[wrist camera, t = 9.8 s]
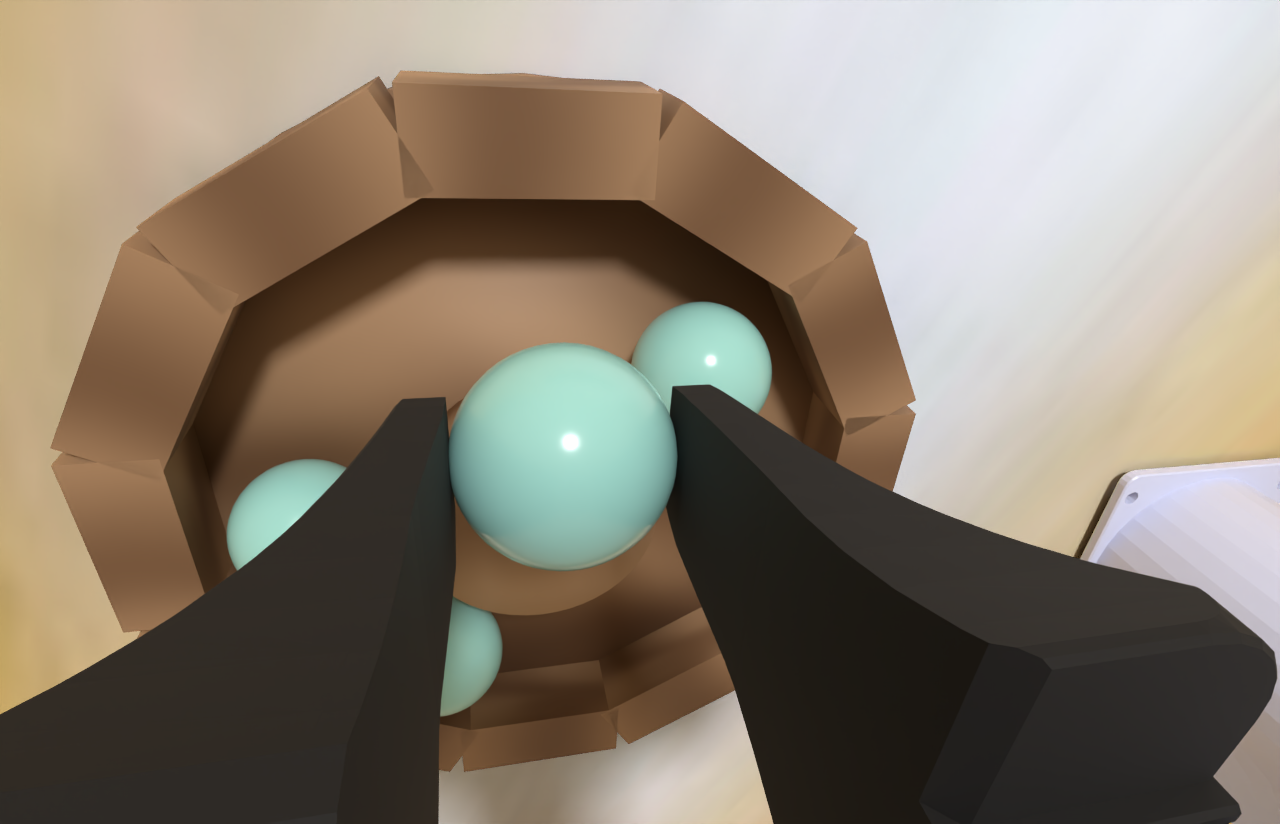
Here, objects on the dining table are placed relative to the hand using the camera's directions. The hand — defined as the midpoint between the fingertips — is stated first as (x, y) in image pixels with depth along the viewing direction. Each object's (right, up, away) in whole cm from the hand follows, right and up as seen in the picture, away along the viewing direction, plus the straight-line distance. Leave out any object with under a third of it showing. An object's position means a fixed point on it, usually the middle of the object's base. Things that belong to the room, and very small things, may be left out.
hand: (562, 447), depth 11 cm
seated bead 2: (-5, -5, +11) cm, 13 cm away
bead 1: (0, +1, +1) cm, 1 cm away
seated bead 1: (-7, -1, +8) cm, 11 cm away
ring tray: (-2, -1, +9) cm, 9 cm away
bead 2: (+2, +2, +8) cm, 8 cm away
